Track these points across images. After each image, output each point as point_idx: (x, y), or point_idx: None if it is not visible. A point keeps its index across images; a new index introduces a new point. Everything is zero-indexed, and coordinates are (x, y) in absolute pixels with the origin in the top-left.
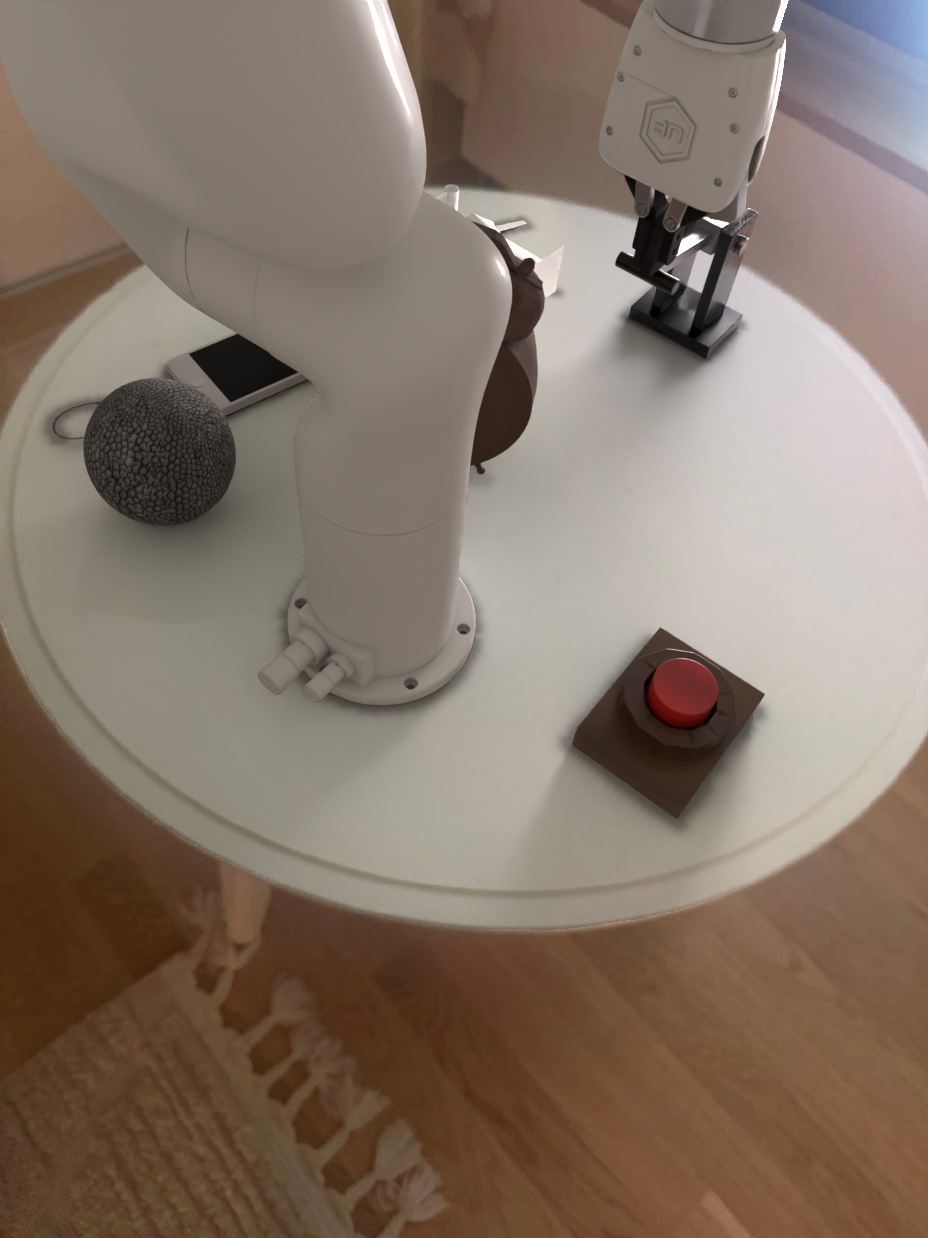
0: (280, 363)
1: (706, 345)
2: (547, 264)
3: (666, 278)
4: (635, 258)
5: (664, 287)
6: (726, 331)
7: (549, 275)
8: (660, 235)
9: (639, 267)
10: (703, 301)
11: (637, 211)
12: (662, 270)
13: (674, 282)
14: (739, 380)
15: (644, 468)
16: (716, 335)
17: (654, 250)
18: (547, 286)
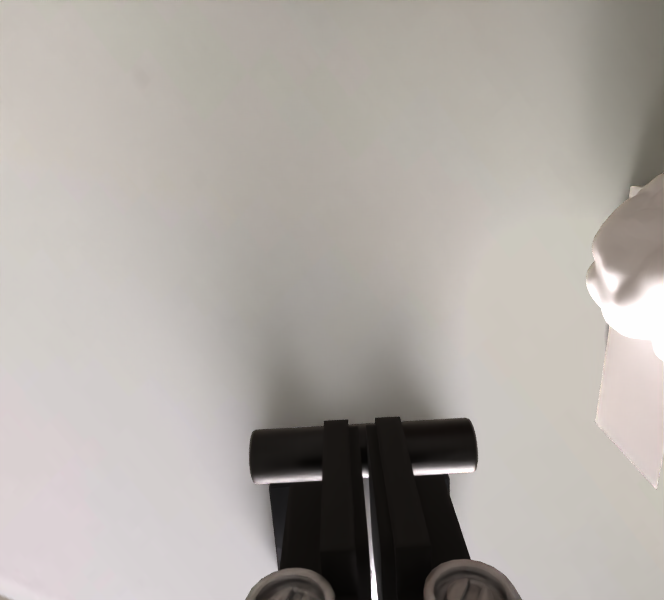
0: None
1: (276, 488)
2: (650, 423)
3: (285, 457)
4: (395, 435)
5: (278, 432)
6: (275, 542)
7: (628, 419)
8: (320, 534)
9: (371, 425)
10: None
11: (484, 576)
12: None
13: (254, 459)
14: (195, 469)
15: (163, 154)
16: (280, 521)
17: (328, 479)
18: (613, 404)
